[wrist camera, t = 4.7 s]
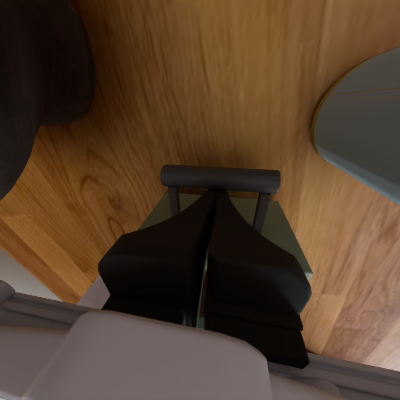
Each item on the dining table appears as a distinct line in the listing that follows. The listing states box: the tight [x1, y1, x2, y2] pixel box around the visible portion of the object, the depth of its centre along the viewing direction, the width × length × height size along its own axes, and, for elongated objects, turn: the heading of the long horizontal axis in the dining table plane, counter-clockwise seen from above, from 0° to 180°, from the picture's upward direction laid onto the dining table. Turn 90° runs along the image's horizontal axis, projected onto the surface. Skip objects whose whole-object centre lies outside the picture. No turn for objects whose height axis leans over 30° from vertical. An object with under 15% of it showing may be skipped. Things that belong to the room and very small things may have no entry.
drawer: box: [138, 165, 313, 318], centre depth 15 cm, size 18×11×8 cm, turn 0°
